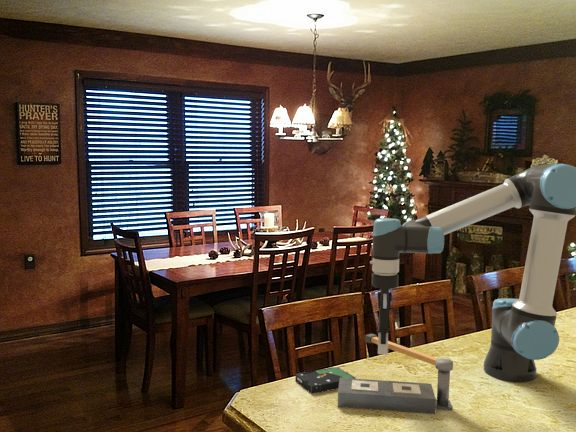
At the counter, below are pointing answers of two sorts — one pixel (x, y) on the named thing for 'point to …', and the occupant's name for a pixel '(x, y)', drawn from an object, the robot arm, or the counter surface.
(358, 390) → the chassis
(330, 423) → the counter surface
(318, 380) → the disk drive
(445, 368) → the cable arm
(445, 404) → the pivot post
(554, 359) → the counter surface
